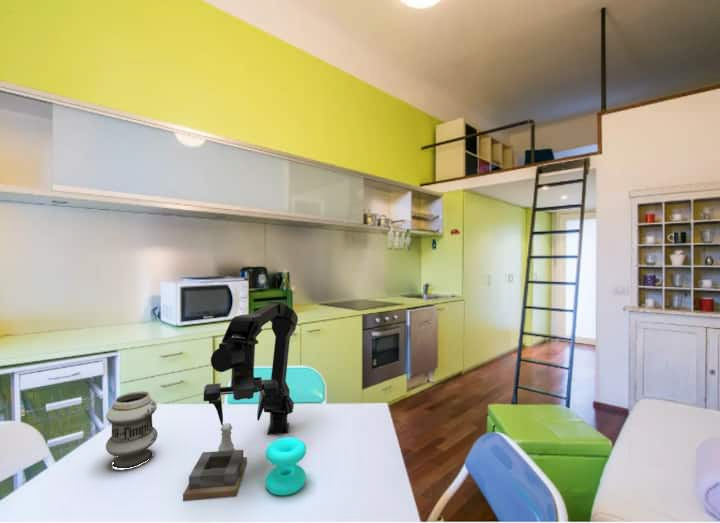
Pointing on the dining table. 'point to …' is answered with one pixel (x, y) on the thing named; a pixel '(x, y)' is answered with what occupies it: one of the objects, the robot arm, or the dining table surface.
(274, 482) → the donuts
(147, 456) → the apothecary jar
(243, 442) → the dining table surface
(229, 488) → the socket board
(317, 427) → the dining table surface
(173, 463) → the dining table surface
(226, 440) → the rook chess piece
